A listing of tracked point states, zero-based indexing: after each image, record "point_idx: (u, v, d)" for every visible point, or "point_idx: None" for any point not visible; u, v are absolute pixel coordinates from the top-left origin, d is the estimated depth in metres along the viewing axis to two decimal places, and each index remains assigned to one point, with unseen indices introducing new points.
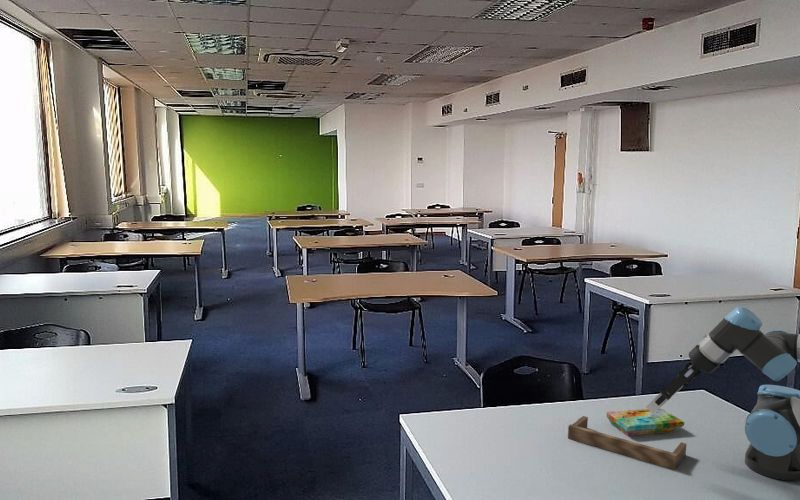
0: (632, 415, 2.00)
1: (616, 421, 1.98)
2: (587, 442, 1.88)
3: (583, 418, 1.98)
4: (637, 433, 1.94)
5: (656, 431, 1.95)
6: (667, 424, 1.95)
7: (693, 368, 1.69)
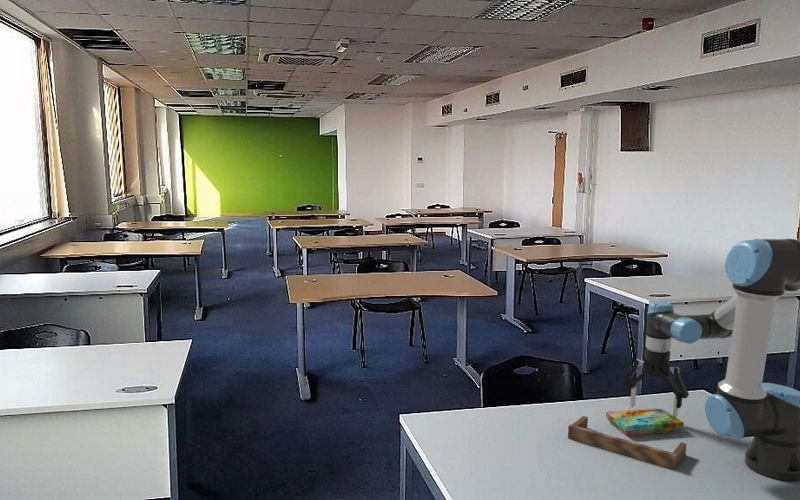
0: (631, 415, 2.00)
1: (615, 421, 1.98)
2: (587, 442, 1.88)
3: (583, 418, 1.98)
4: (636, 433, 1.94)
5: (655, 431, 1.95)
6: (666, 425, 1.95)
7: None
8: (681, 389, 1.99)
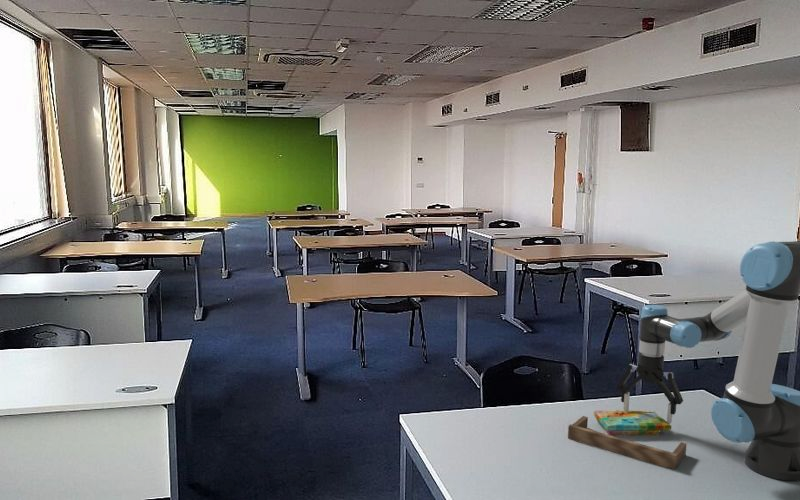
0: (618, 415, 1.99)
1: (600, 420, 1.98)
2: (587, 442, 1.88)
3: (583, 418, 1.98)
4: (619, 433, 1.93)
5: (640, 433, 1.94)
6: (652, 427, 1.93)
7: None
8: (675, 395, 1.94)
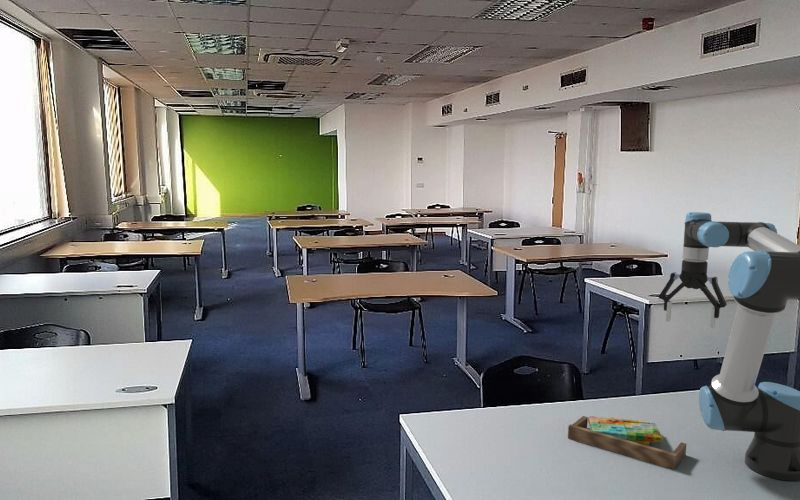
0: (611, 423, 1.94)
1: (590, 425, 1.94)
2: (587, 442, 1.88)
3: (583, 418, 1.98)
4: None
5: None
6: (641, 437, 1.86)
7: None
8: (719, 298, 1.98)
